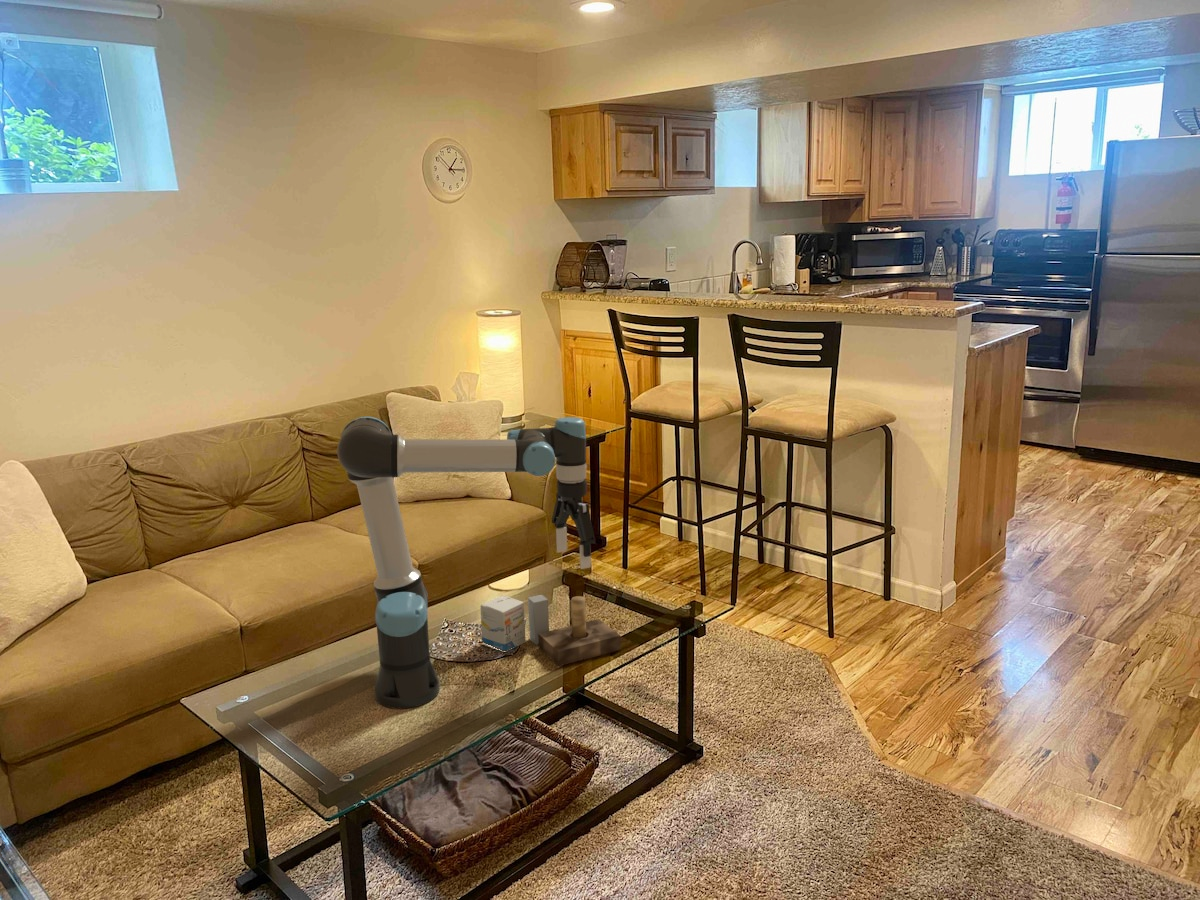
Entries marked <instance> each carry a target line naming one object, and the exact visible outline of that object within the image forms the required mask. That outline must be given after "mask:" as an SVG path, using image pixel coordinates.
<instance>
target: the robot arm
mask: <svg viewBox="0 0 1200 900" xmlns="http://www.w3.org/2000/svg"><path fill="white" fill-rule="evenodd" d="M336 453H337V458H338V461H339V464H340V465H341V466H342V468H343V469H344V470H345V471H346V474H347V478H348V481H349V482H351V483H353V484H355V485H356V486H357V487H356V488H357V492H358V495H359V499H360V500H359V501H360V504H361V509H362V513H363V518H364V522H365V526H366V530H367V533H368V538H369V544H370V547H371V552H372V555H373V560H374V564H375V568H376V572H377V577H376V578H375V579H374V581H373V588H374V591H375V596H376V600H377V601H376V602H377V605H376V607H375V613H374V621H375V623H376V631H377V632H376V633H377V635H376V636H377V644H378V657H379V670H378V673H377V677H376V681H375V684H374V698H375V701H376V702H377V703H378V705H381V706H383V707H386V708H389V709H410V708H411V709H412V708H415V707H419V706H422V705H425V704H427V703H429V702H431V701H433V700H434V699H435V698H436V697H437V696H438V694H439V693H440V691H441V689H440V678H439V677H438V674H437V672H436V669H435V667H434V666H433V663H432V661H431V655H430V639H429V625H428V624H429V623H428V622H429V621H428V620H429V619H428V613H429V612H428V603H429V599H428V598H429V596H428V592H427V590H426V588H425V586H424V582H423V579H422V574H421V571H420V570H419V569H417V568H415V567H414V566H413V562H412V558H411V553H410V549H409V544H408V541H407V535H406V532H405V531H406V529H405V526H404V521H403V516H402V513H401V510H400V509H401V508H400V504H399V500H398V495H397V491H396V487H395V481H394V478H400V477H401V476H402V475H403V474H407V473H408V474H409V473H411V474H412V473H414V474H416V473H418V474H419V473H424V474H425V473H527V474H530V475H532V476H535V477H543V476H546V475H548V474H549V473H550V472H552V471H553V469H554V467H555V466H556V467H555V469H556V471H555V473H556V479H557V481H556V495H555V504H554V509H553V512H552V517H551V523H552V524H554V527H555V528H556V529H555V532H556V533H555V537H556V538H555V539H556V542H555V543H556V553H559V554H561V553H565V552H568V532H567V531H568V528H567V526H568V524H567V521H568V520H569V518H570V519H571V520H572V521H573V522H574V525H575V528H576V530H577V531H576V532H577V534H578V536H579V537H578V538H579V540H580V542H579V543H578V545H579V569H581V570H585V569H589V568H592V554H591V553H592V552H591V550H592V548H591V547H592V545H591V544H594V543H596V536H595V532H594V531H595V530H594V528H593V527H594V526H593V523H592V518H591V514H590V505H589V503H584V502H583V497H584V496H585V495H587V494H588V481H587V480H586V478H587V468H588V464H587V433H586V423H585V421H584V420H583V419H582V418H580V417H576V416H575V417H574V416H566V417H560V418H557V419H556V420H555V424H554V426H551V427H540V428H538V427H537V428H519V429H511V430H509V431H507V435H506V439H489V438H488V439H482V438H481V439H478V438H477V439H476V438H475V439H473V438H472V439H471V438H470V439H467V438H466V439H465V438H464V439H462V438H461V439H458V438H457V439H455V438H452V439H451V438H450V439H449V438H448V439H446V438H443V439H441V438H437V439H436V438H434V439H433V438H431V439H429V438H425V439H421V438H413V439H412V438H403V436H401V435H400V434H392V431H391V430H390V428H389V426H388V425H387V424H386V423H385V422H384V421H383V420H381V419H379V418H376V417H374V416H369V415H368V416H360V417H357V418H354V419H353V420H351V421H350V422H348V424H346V426H345V427H344V428H343V430H342V431H341V435H340V439H339V441H338V444H337V449H336Z"/></svg>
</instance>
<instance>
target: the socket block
mask: <svg viewBox="0 0 1200 900" xmlns="http://www.w3.org/2000/svg"><path fill="white" fill-rule="evenodd" d="M538 637H539V644H538V648H539V649H540V651H542V652H543V653H544V654H545V656H547V657H548V658H550V659H551V661H552V662H553V663H554V664H556V665H557V667H560V666H561V667H562V666H565V665H568V664H572V663H575V662H579V661H583V659H584V660H587V659H590V658H594V657H599V656H603V655H606V654H610V653H614V652H617V651H621V650H622V649H621V648H622V646H621V645H622V643H621V637H622V636H621V635H620V633H619V632H617V631H615V630H614V629H613V628H611V627H610V626H609V625H608V624H606V623H605V622H604V621H603V620H600V618H597V619H593V620H590V621H586V638H582V639H576V638H573V637H572V625H568V626H565V627H560V628H556V629H552V630H549V631H547V632H543V633H539V634H538Z"/></svg>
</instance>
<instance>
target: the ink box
mask: <svg viewBox="0 0 1200 900" xmlns="http://www.w3.org/2000/svg"><path fill="white" fill-rule="evenodd" d="M480 621H481V622H480V624H481V625H480V626H481V643H482V642H484V643H486V644H488V645H491V646H493V647H495V648H497V649H500V650H502V651H507V650H509V649H511V648H513V647H515V648H517V647H518V645H519V646H521V645H522V644H524V643H526V641H527V640H526V623H525V622H526V621H525V602H524V601H522V600H518V599H516V598H512V597H510V596H506V595H500V596H497V597H495V598H493V599H490V600H488V601H487V602H484V603H481V604H480ZM516 646H517V647H516ZM513 649H514V648H513ZM511 650H512V649H511Z"/></svg>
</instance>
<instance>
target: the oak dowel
mask: <svg viewBox="0 0 1200 900" xmlns="http://www.w3.org/2000/svg"><path fill="white" fill-rule="evenodd" d="M570 603H571V604H570V605H571V626H572V637H573V638H576V639H582V638H586V622H587V617H586V612H587V611H586V610H587V609H586V597H584V596H582V595H581V596H580V595H577V596H573V597H572V598H571V601H570Z"/></svg>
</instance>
